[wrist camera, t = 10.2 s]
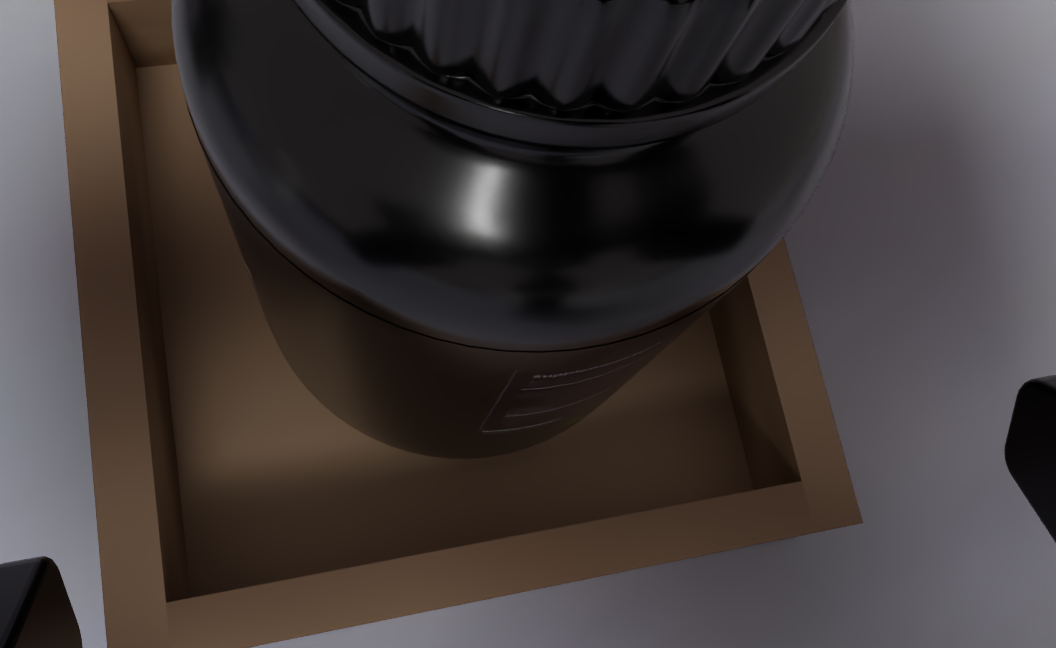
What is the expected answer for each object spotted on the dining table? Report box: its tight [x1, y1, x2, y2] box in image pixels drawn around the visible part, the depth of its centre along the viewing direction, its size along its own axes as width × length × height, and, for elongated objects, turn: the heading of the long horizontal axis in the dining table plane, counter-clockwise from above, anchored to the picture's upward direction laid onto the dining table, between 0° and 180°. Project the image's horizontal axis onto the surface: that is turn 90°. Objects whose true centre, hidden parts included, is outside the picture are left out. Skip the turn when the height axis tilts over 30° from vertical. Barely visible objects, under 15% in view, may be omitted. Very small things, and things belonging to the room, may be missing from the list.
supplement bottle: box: [171, 0, 853, 459], centre depth 12 cm, size 7×7×12 cm
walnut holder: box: [54, 0, 863, 648], centre depth 17 cm, size 11×11×2 cm
